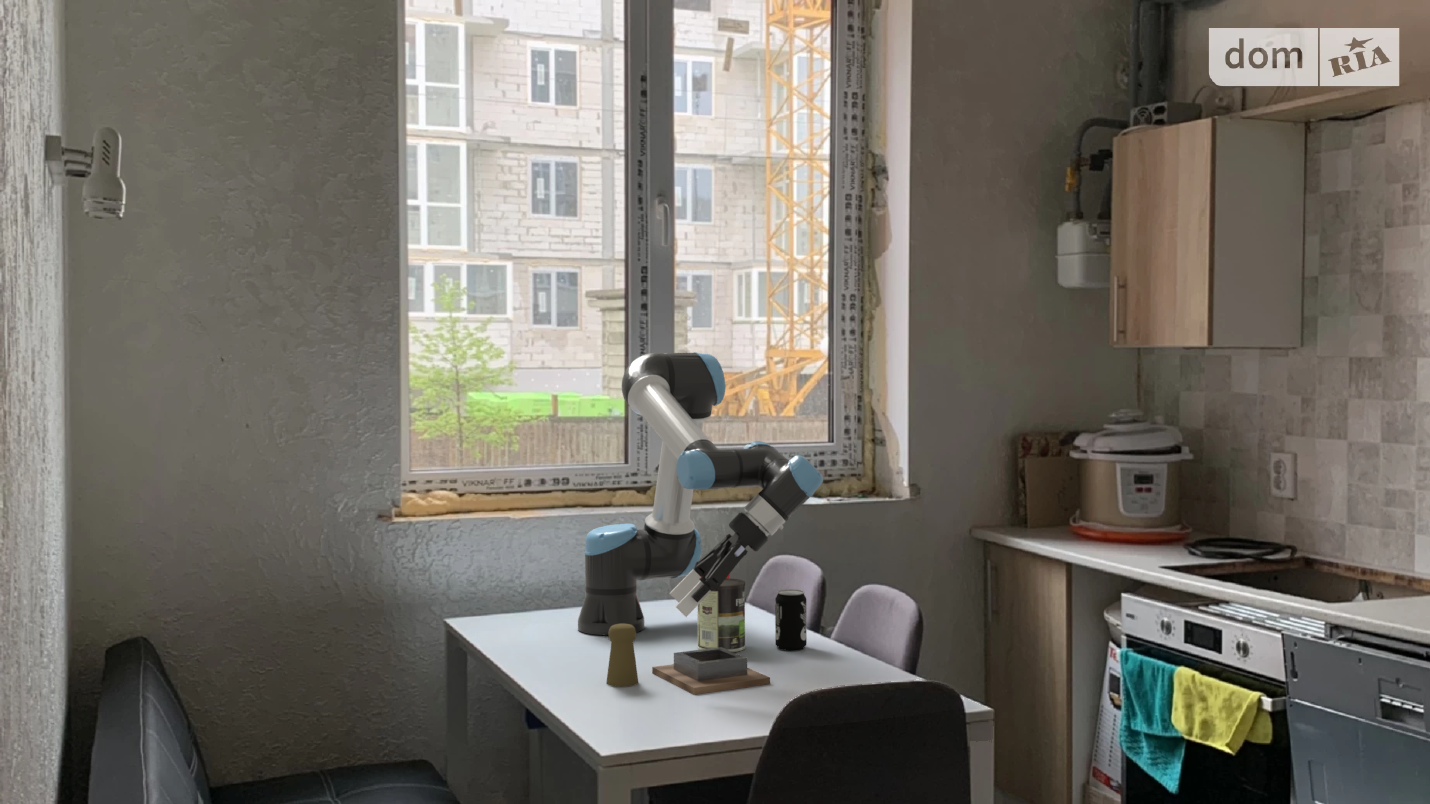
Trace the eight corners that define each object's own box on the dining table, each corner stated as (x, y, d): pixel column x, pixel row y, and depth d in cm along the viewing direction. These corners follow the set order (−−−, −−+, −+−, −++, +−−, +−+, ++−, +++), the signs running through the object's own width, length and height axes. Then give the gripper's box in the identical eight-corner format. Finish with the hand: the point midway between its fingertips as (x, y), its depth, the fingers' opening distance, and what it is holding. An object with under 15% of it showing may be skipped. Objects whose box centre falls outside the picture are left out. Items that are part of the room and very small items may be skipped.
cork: (643, 680, 231) (643, 622, 231) (630, 687, 225) (630, 628, 225) (614, 677, 233) (614, 620, 233) (601, 685, 227) (600, 626, 227)
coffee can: (749, 643, 262) (749, 578, 262) (740, 654, 252) (740, 586, 252) (702, 641, 264) (702, 577, 264) (692, 652, 254) (691, 585, 254)
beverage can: (797, 652, 253) (797, 595, 253) (769, 649, 257) (769, 592, 257) (811, 646, 259) (811, 590, 259) (784, 643, 262) (784, 587, 262)
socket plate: (652, 673, 236) (652, 650, 236) (725, 663, 244) (724, 641, 244) (693, 694, 220) (693, 670, 220) (770, 683, 228) (770, 660, 228)
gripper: (781, 546, 219) (698, 632, 218) (759, 529, 244) (685, 606, 243) (751, 517, 218) (668, 603, 217) (733, 503, 243) (658, 580, 242)
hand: (677, 605), depth 230 cm, fingers open, 13 cm apart
